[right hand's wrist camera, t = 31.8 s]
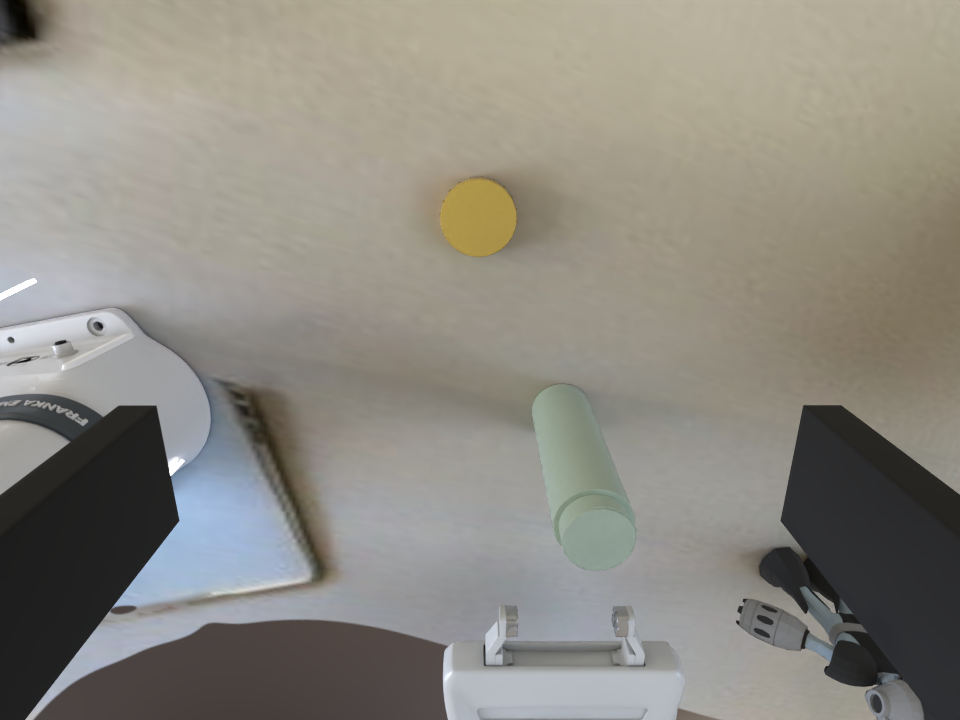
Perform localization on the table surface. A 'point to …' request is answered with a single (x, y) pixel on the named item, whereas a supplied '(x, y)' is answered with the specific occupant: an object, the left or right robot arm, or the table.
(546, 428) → the green thermos bottle
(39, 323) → the left robot arm
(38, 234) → the table surface
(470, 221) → the lid
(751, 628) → the robot
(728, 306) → the table surface
